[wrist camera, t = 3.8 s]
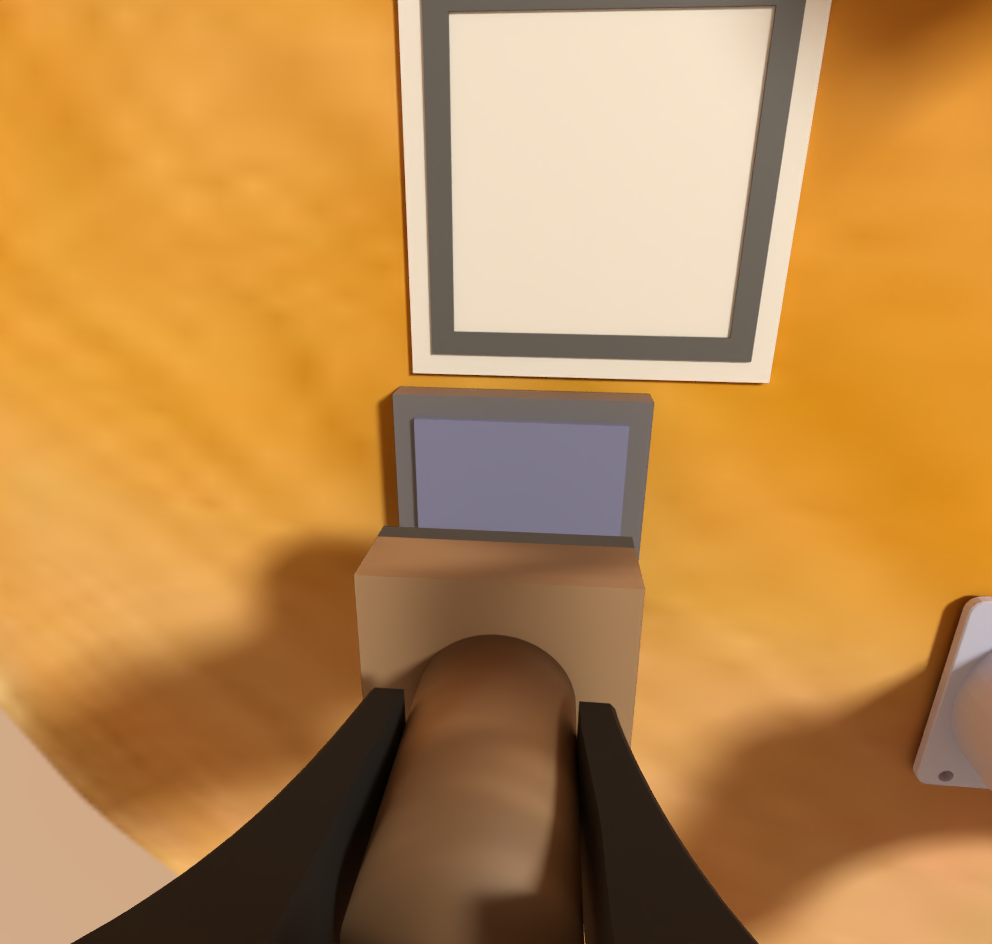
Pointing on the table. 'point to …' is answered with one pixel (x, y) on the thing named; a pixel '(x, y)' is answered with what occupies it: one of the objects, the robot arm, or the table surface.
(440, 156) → the print sheet
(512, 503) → the ink pad
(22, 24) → the table surface
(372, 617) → the stamp
